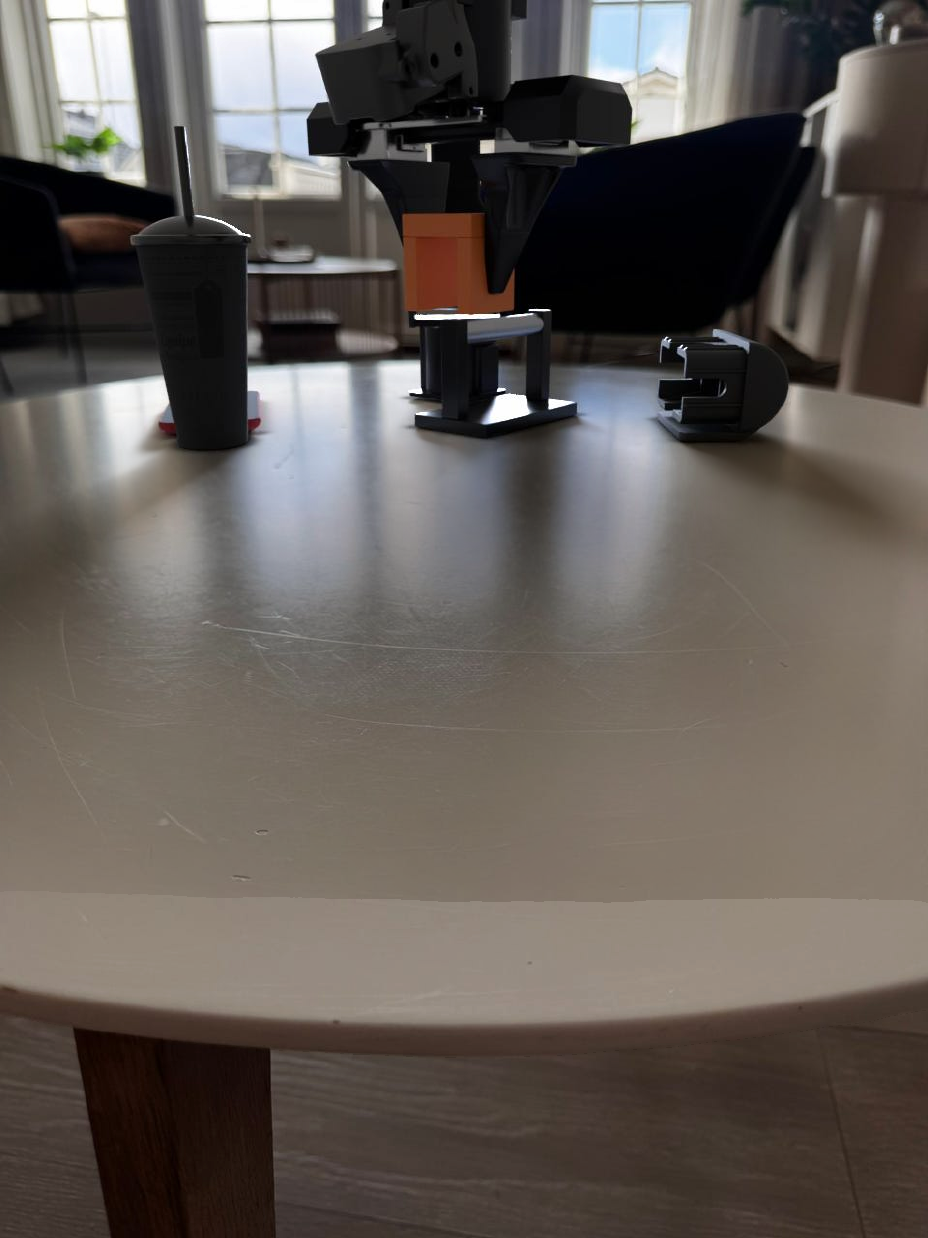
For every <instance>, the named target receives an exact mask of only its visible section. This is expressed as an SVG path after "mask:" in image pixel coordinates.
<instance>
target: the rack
mask: <svg viewBox="0 0 928 1238" xmlns="http://www.w3.org/2000/svg"><path fill="white" fill-rule="evenodd" d="M552 311H553V310H552V309H538V308H536V309H535V308H534V309H528V310H526V313H524V314H514V315H512V316H505V317H496V318H487V319H478V320H469V321H468V320H467V319H453V318H450V319H441V378H442V400H441V408H436V409H433V410H427V411H423V412H419V413H415V414H414V427H415V428H420V429H425V430H431V431H438V432H445V433H451V434H456V435H464V436H470V437H475V438H483V439H488V438H492V437H496V436H500V435H504V434H507V433H511V432H515V431H519V430H522V429H526V428H531V427H535V426H538V425H543V424H546V423H550V422H553V421H557V420H562V419H565V418H568V417H573V416H577V415H578V402H576V401H569V400H559V399H552V398H550V381H551V379H550V378H551V349H552V347H551V346H552ZM525 336H526V352H525V353H526V359H525V360H526V361H525V395H519V394H517V395H516V394H511V393H508V394H504V395H499V396H494V397H490V398H485V399H480V400H475V401H471V402H468V344H469V343H476V342H483V341H491V340H495V341H497V340H504V339H505V340H506V339H511V338H519V337H525Z"/></svg>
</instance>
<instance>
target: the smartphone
mask: <svg viewBox="0 0 928 1238" xmlns="http://www.w3.org/2000/svg"><path fill="white" fill-rule="evenodd" d="M261 423H262V413H261V394H260V392H259V391H258V390H248V431H250V430H255V429H257V428H259V426H260V425H261ZM158 427H159V429H160V430H161V431H162V432H164V433H165V434H168V435H176V431H175V426H174V421H173V417H172V412H171V407H170V403H169V402H168V405H167V406H166V408H165V410H164V412H163V413H162V415H161V417H160V419H159V421H158Z"/></svg>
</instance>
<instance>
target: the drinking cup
mask: <svg viewBox="0 0 928 1238" xmlns="http://www.w3.org/2000/svg"><path fill="white" fill-rule="evenodd" d="M173 131H174V132H173V133H174V141H175V143H174V144H175V151H176V159H177V167H178V176H179V185H180V187H179V188H180V195H181V203H182V212H183V215H177V216H170V217H167V218H163V219H159V220H158V221H156V222H154V223H151V224H150V225H148V226H146V227H145V228H144V229H142V230H141V231H140V232H138V234H132V235H130V238H129V239H130V244H131V245H132V246H135V250H136V255H137V258H138V263H139V268H140V272H141V278H142V282H143V286H144V290H145V296H146V300H147V301H146V302H147V305H148V308H149V314H150V319H151V324H152V328H153V332H154V338H155V342H156V348H157V352H158V355H159V361H160V365H161V371H162V374H163V377H164V379H163V380H164V384H165V388H166V393H167V398H168V404H169V403H170V407H171V412H172V417H173V421H174V426H175V431H176V434H175V435H176V440H177V445H178V446H179V447H181V448H184V449H188V450H204V451H205V450H219V449H220V450H223V449H229V448H230V449H231V448H235V447H239V446H242V445H245V444H246V443H248V441H249V430H248V391H249V365H248V364H249V362H248V361H249V360H248V359H249V351H248V350H249V348H248V346H249V344H248V341H249V339H248V338H249V337H248V334H249V333H248V332H249V331H248V328H249V327H248V326H249V325H248V323H249V322H248V321H249V319H248V313H249V311H248V245H251V244H252V236H251V235H250V234H245V233H242V232H241V231H240V230H238V229H237V228H235V227H234V226H232V225H230V224H228V223H226V222H224V221H222V220H218V219H215V218H212V217H207V216H203V215H195V208H194V198H193V190H192V189H193V188H192V180H191V171H190V162H189V153H188V152H189V151H188V143H187V134H186V133H187V132H186V126H184V125H174V126H173Z"/></svg>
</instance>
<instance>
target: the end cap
mask: <svg viewBox="0 0 928 1238" xmlns="http://www.w3.org/2000/svg"><path fill="white" fill-rule="evenodd" d="M659 352H660V354H659V363H661V364H674V363H675V364H678V363H679V364H681V363H683V364H684V371H683V378H658V381H657V395H656V400H657V404H658V405H659V406H660V407H661V410H658V411H657V413H656V414H657V415H656V416H657V417H656V419H657V421H659V422H660V423H661V424H662V425H663V427H665V428H666V429H667V430H668V431H669V432H670V433H671V434H672V435H673V436H674V437H675V438H676V439H677V440H678V441H681V442H688V443H697V442H699V443H705V442H706V443H707V442H709V443H711V442H714V443H715V442H716V443H717V442H719V443H720V442H725V443H727V442H730V443H731V442H737V441H738V442H739V441H741V440H745V439H747V438H749V437H750V436H752V435H753V434H754V433H756V432H757V431H759V430H760V429H762V428H763V427H764V426H766V425H767V424H769V423H770V422H772V420H773V419H774V418H776V416H777V415H778V414H779V413H780V411H781V410H782V408H783V407H784V404H785V402H786V400H787V396H788V392H789V385H790V384H789V383H790V378H789V373H788V372H789V371H788V369H787V367H786V364H785V362H784V360H783V359H782V357H781V356H780V355H779V354H778V353H777V352H776V351H775V350H774V349H772V348H770V347H769V346H767V345H765V344H763V343H760V342H757V341H754V340H753V339H749V338H746V337H743V336H741V335H738V334H735V333H733V332H729V331H727V330H724V329H718V328H713V331H712V336H666V337H665V338H662V339H661V342H660V351H659ZM662 409H663V410H662Z"/></svg>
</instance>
